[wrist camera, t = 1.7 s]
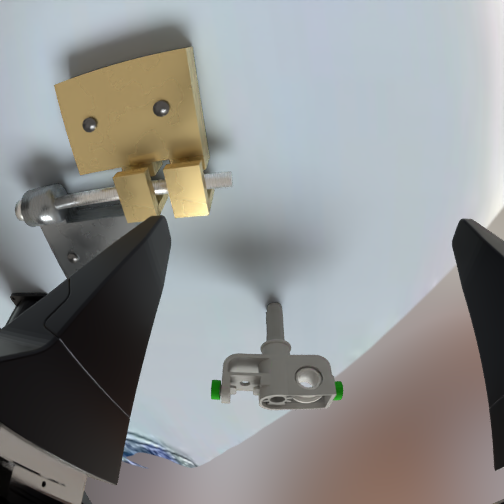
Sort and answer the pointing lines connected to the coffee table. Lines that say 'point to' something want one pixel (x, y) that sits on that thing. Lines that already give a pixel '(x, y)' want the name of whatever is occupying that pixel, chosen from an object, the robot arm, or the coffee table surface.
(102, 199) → the fixed leaf
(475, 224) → the robot arm
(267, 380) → the mechanical component
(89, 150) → the loose leaf
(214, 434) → the coffee table surface
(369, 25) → the coffee table surface
